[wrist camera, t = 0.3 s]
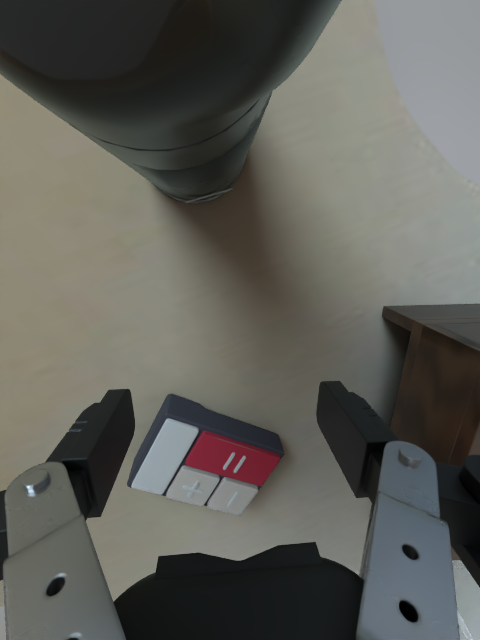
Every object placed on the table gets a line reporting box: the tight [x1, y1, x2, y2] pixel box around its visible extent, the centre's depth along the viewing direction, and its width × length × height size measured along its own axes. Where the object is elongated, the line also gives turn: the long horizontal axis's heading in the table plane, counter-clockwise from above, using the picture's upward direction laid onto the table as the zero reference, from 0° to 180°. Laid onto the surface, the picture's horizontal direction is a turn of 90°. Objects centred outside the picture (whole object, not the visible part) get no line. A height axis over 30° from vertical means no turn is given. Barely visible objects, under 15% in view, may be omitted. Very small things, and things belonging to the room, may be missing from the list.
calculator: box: [127, 394, 284, 515], centre depth 32 cm, size 11×4×15 cm
